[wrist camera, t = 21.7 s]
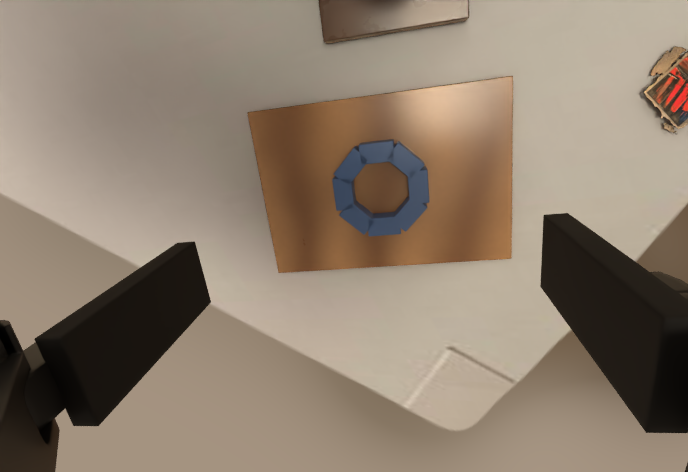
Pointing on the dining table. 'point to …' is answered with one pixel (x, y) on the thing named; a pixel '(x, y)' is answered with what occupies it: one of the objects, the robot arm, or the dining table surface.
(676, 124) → the matchbox
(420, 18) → the dowel stand
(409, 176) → the ring
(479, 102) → the wooden board
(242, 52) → the dining table surface
